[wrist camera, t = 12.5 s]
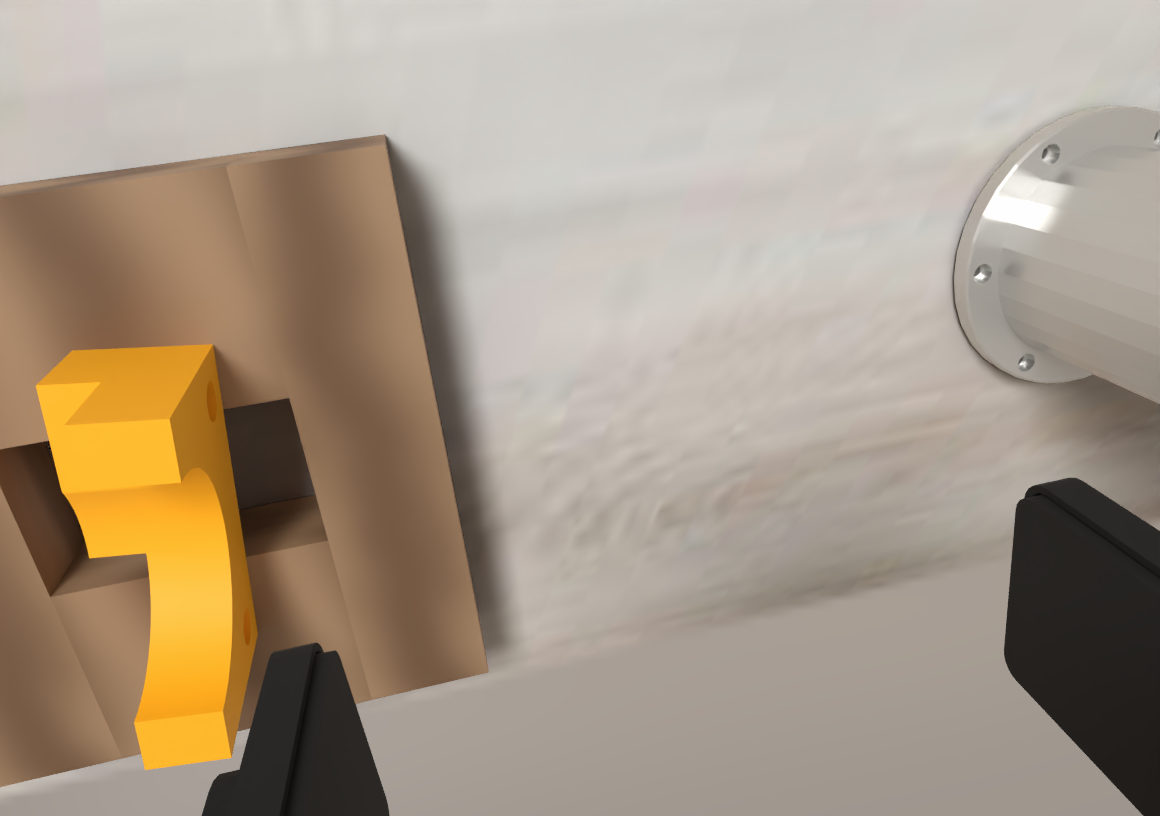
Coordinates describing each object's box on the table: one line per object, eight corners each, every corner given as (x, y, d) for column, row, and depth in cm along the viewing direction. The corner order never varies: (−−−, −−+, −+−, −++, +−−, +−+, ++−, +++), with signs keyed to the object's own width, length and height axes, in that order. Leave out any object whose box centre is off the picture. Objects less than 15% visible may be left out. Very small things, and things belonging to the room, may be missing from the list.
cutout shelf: (384, 134, 31) (385, 145, 27) (478, 616, 40) (488, 672, 36) (-224, 215, 28) (-314, 239, 24) (27, 717, 37) (-11, 789, 33)
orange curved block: (72, 350, 28) (-11, 429, 22) (213, 344, 28) (169, 419, 23) (138, 647, 32) (84, 778, 26) (257, 633, 33) (231, 757, 27)
